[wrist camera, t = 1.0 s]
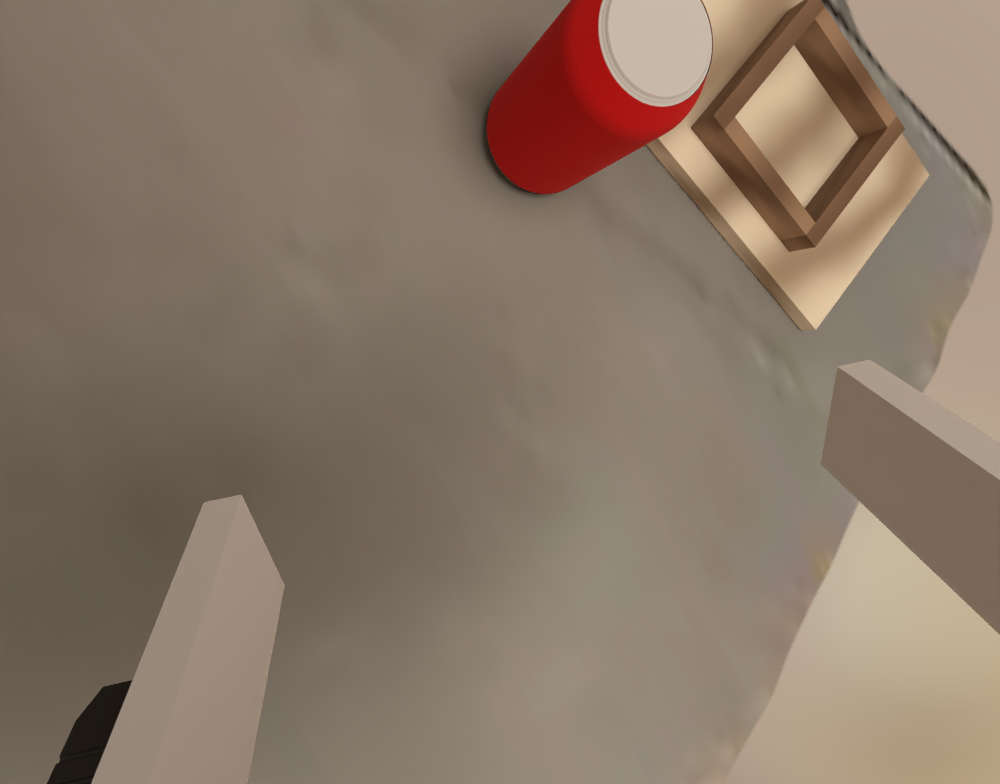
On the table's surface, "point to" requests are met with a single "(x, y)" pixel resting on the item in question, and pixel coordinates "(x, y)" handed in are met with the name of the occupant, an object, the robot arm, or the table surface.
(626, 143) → the beverage can
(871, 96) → the collar board
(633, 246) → the table surface
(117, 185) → the table surface
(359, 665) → the table surface
